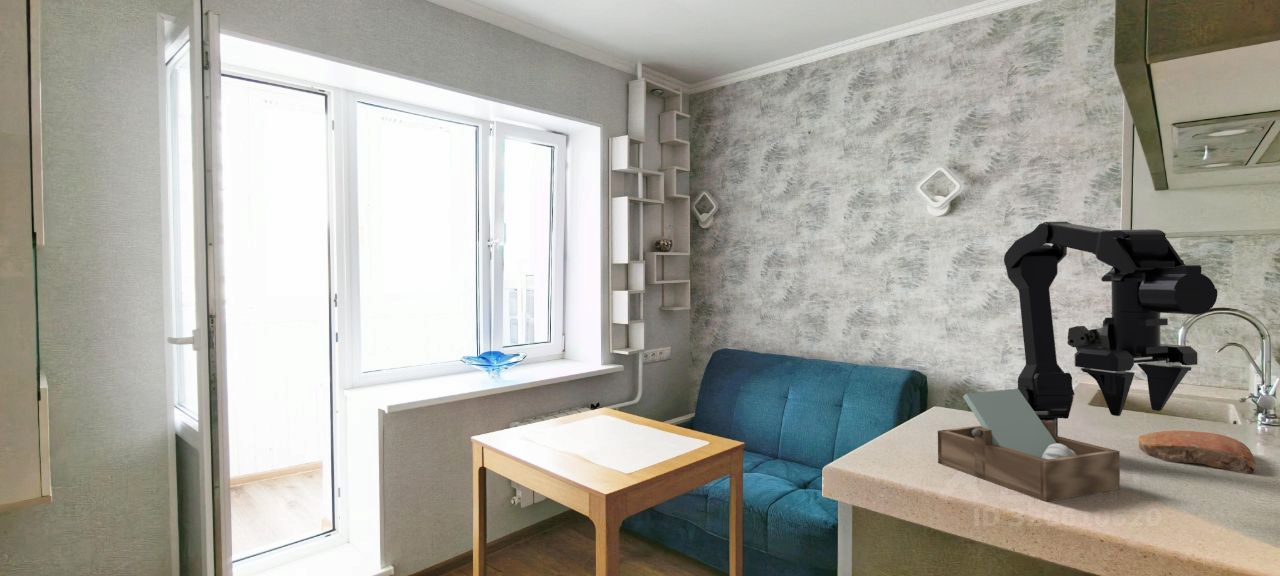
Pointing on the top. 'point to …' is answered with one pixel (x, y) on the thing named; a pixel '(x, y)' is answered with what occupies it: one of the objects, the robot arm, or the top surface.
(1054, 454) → the garlic
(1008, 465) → the frame
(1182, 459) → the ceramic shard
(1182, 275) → the robot arm
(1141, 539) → the top surface
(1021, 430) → the trapdoor plate
